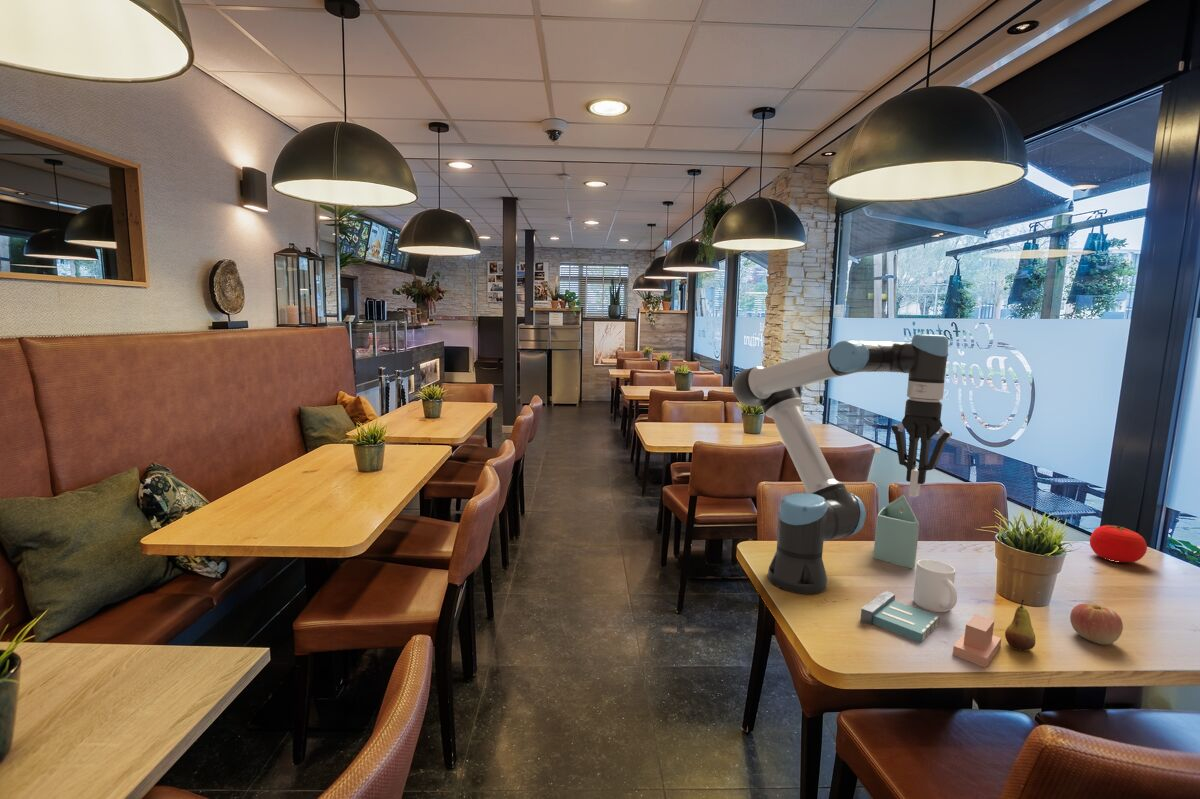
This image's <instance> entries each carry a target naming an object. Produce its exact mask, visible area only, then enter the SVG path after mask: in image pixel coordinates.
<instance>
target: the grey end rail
mask: <svg viewBox="0 0 1200 799" xmlns="http://www.w3.org/2000/svg"><path fill="white" fill-rule="evenodd" d="M893 600H894V601H896V593H893V592H890V591H888V590H884V591H883V592H882V593H880V594H878V595H877V596H876V597H874V599H872V600H871V601H869V602H868V603H867V604H865V605H864V606H863V607H861V612H860V618H859V619H860V620H859V622H861V623H864V624H865V625H869V626H872V625H874V624H873V616H874V615H875V614H876V613H878V612H879V611H880V610H881V609H883V608H884V607H885V606H886V605H888V604H889V603H890V602H891V601H893Z"/></svg>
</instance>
